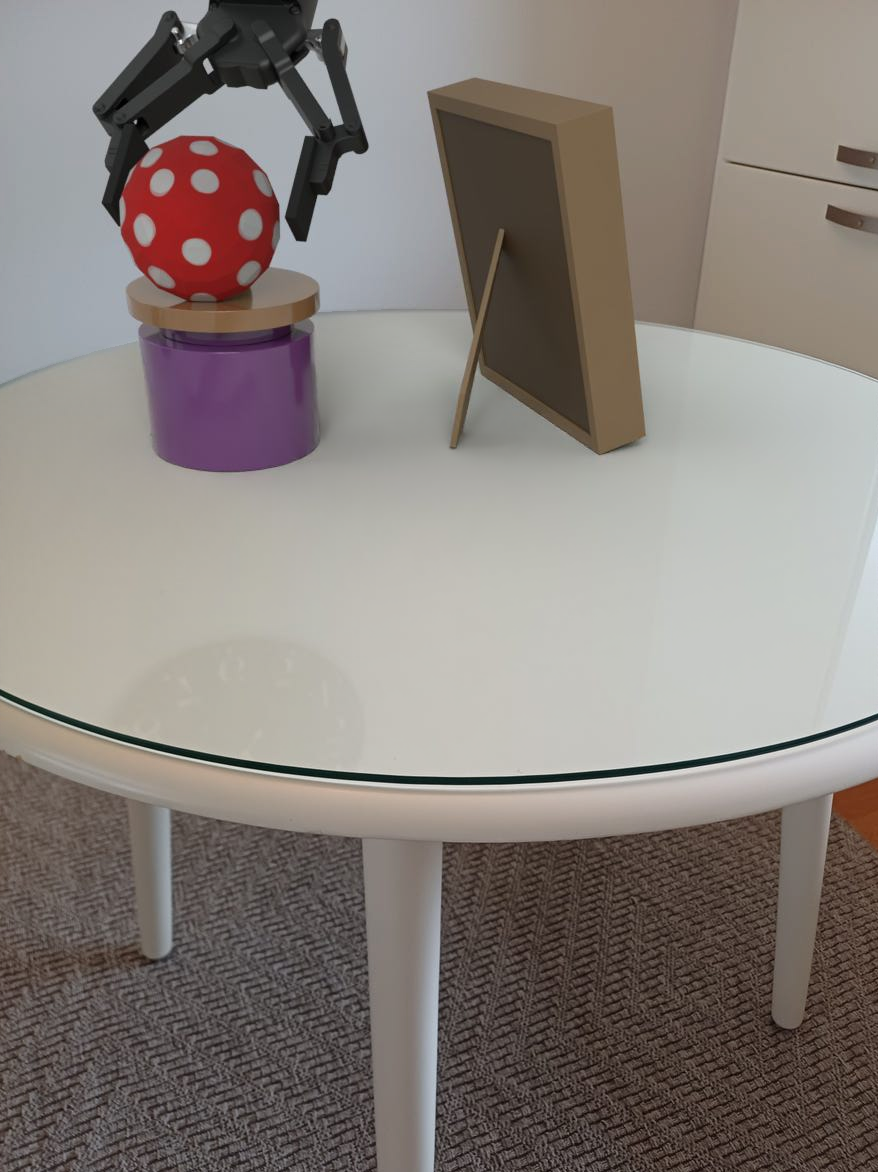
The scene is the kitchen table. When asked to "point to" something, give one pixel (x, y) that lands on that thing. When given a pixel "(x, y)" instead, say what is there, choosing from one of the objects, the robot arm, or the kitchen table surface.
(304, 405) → the jar
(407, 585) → the kitchen table surface
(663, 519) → the kitchen table surface
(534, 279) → the photo frame
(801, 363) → the kitchen table surface
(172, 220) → the red polka-dot ball
